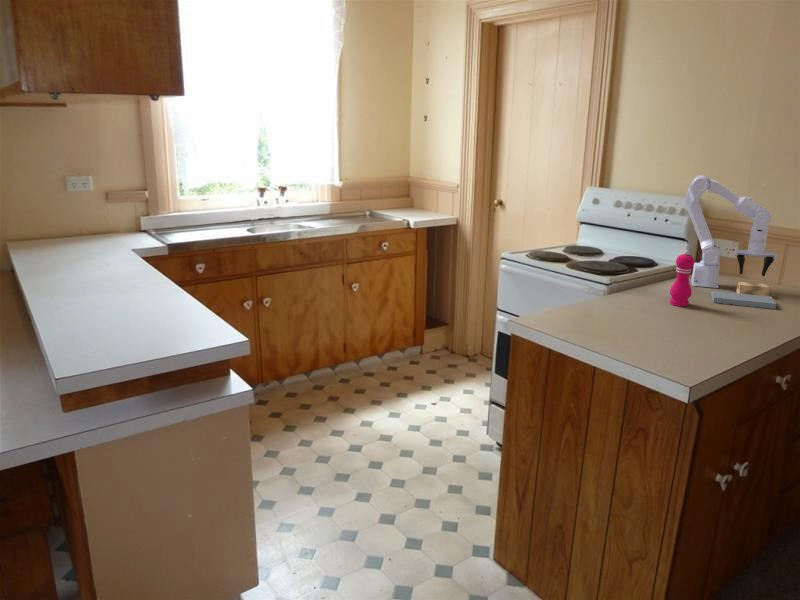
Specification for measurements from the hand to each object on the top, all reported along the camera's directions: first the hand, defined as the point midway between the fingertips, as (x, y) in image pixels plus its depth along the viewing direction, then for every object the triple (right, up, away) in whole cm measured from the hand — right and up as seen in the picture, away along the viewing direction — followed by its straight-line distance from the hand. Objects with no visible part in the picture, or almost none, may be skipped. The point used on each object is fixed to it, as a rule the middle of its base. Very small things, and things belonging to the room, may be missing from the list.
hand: (751, 274), depth 246 cm
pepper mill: (-37, -12, -18) cm, 42 cm away
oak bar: (-3, -8, -5) cm, 10 cm away
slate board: (-12, -11, -15) cm, 22 cm away
